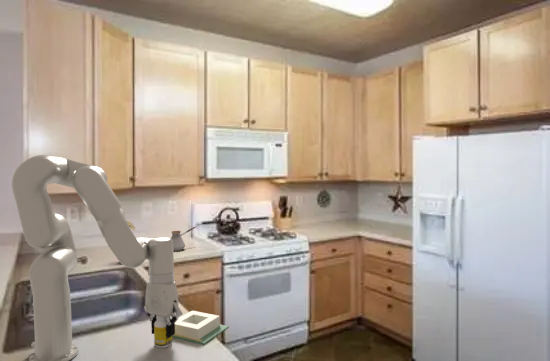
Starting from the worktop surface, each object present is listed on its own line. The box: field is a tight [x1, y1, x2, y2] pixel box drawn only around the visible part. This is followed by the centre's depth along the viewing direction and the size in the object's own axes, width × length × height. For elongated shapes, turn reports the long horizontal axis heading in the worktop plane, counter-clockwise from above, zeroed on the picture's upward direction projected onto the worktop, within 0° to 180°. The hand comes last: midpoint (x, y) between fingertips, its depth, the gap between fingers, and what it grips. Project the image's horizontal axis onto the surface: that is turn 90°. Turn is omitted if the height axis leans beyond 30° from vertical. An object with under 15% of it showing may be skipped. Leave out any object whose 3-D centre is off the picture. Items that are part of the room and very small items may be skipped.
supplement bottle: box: [153, 315, 173, 349], centre depth 120 cm, size 5×5×10 cm
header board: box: [172, 310, 230, 346], centre depth 129 cm, size 18×14×4 cm
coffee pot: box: [170, 225, 199, 252], centre depth 262 cm, size 21×12×15 cm, turn 127°
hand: (163, 333), depth 120 cm, fingers closed on supplement bottle, 5 cm apart
